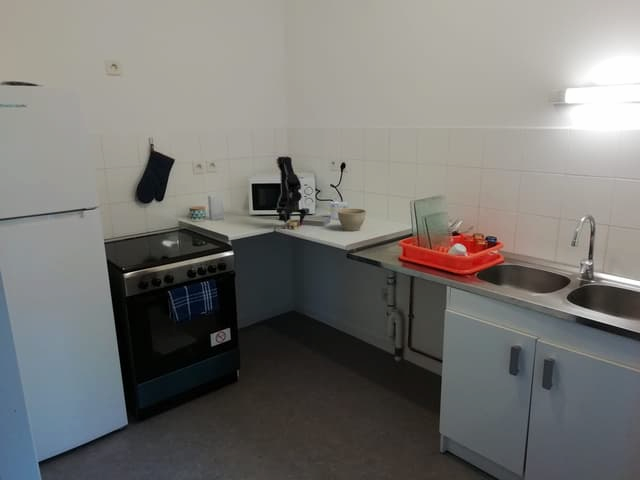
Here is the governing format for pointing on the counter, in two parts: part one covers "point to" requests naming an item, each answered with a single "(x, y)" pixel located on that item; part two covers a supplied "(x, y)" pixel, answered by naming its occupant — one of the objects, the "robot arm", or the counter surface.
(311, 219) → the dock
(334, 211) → the light bulb box
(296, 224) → the pallet
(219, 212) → the skincare box
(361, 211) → the planter bowl
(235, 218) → the counter surface
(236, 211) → the counter surface
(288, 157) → the robot arm
